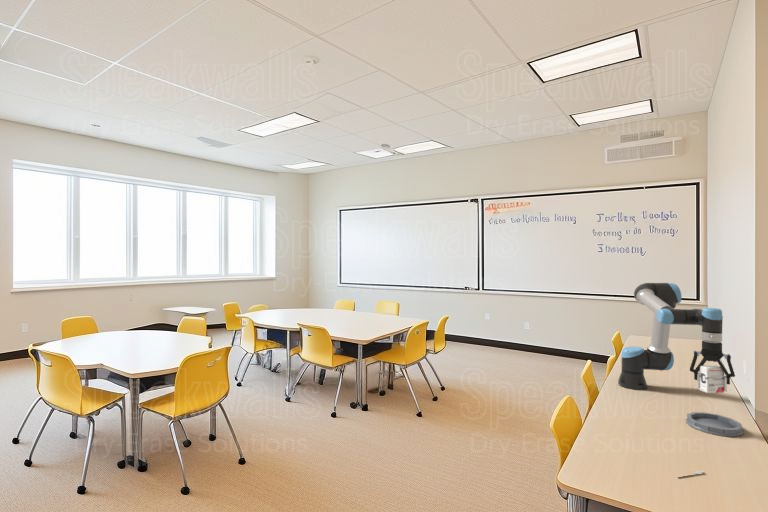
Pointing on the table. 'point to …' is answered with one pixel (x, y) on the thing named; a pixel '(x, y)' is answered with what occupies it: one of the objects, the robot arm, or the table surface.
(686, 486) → the table surface
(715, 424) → the round bowl
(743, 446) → the table surface
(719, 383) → the ink box
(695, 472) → the grey thin rod
